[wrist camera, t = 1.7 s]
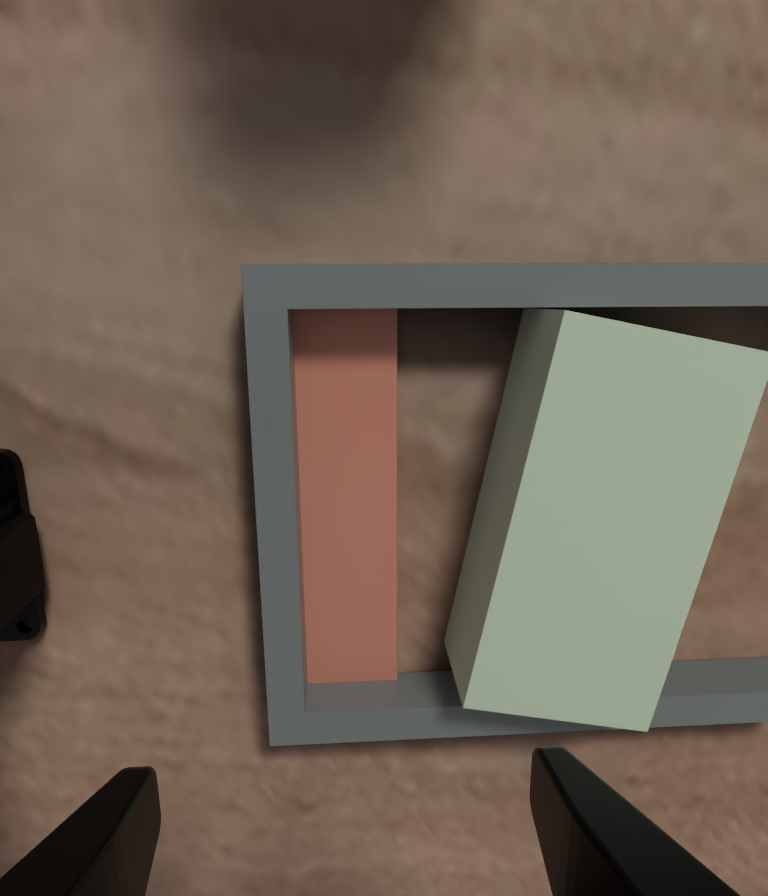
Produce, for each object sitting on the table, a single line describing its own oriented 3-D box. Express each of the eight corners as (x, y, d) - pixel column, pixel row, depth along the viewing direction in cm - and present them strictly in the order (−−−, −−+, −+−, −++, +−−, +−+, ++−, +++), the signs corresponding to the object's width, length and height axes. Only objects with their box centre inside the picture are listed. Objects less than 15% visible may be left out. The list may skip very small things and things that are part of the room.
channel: (276, 706, 22) (269, 746, 20) (252, 268, 18) (240, 263, 16) (779, 684, 23) (819, 719, 21) (852, 266, 19) (908, 262, 17)
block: (442, 636, 22) (463, 708, 18) (520, 307, 19) (564, 309, 15) (596, 658, 23) (647, 731, 19) (692, 343, 20) (776, 353, 16)
